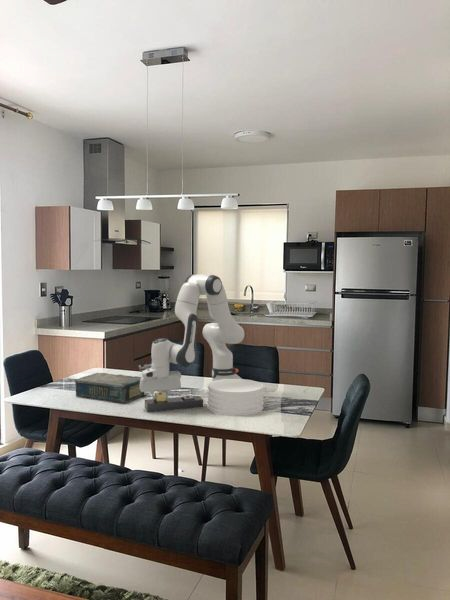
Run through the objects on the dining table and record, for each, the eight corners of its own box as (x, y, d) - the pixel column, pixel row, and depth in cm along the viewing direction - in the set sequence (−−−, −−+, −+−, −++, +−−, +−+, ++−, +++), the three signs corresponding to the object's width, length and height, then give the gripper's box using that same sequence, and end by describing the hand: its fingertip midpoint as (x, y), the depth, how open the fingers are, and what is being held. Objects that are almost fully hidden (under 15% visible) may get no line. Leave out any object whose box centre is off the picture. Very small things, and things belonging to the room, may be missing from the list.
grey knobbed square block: (190, 405, 248) (190, 395, 247) (192, 407, 244) (193, 397, 243) (182, 405, 246) (182, 395, 246) (184, 408, 242) (184, 397, 242)
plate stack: (230, 397, 265) (231, 376, 264) (274, 406, 247) (274, 384, 246) (195, 408, 243) (196, 385, 242) (240, 419, 225) (240, 395, 224)
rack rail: (198, 403, 251) (198, 395, 251) (203, 407, 243) (203, 399, 243) (144, 407, 242) (144, 399, 242) (147, 412, 234) (147, 403, 234)
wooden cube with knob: (163, 402, 243) (163, 391, 243) (165, 404, 239) (165, 393, 239) (155, 402, 242) (155, 392, 241) (156, 405, 237) (156, 394, 237)
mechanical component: (137, 380, 300) (137, 364, 299) (154, 379, 303) (154, 363, 303) (138, 381, 297) (138, 365, 297) (155, 380, 300) (155, 364, 300)
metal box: (123, 404, 248) (123, 385, 247) (73, 397, 261) (73, 379, 260) (146, 395, 267) (146, 377, 266) (99, 388, 280) (99, 371, 280)
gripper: (179, 369, 246) (179, 396, 247) (138, 371, 239) (138, 399, 240) (182, 371, 240) (182, 399, 241) (140, 374, 233) (140, 402, 234)
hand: (160, 399), depth 240 cm, fingers closed on wooden cube with knob, 4 cm apart
